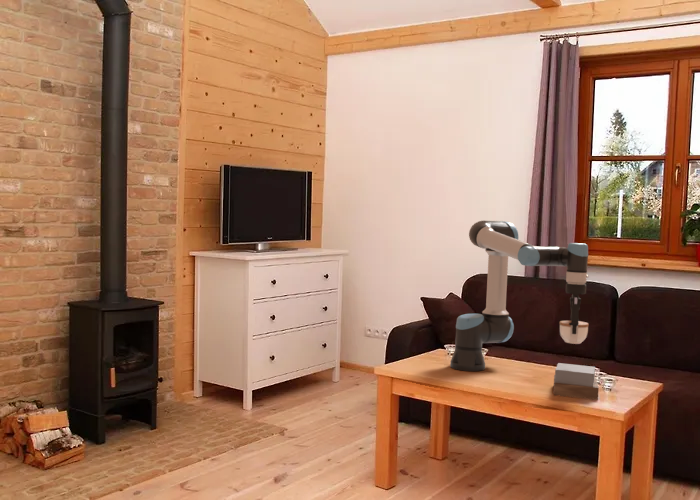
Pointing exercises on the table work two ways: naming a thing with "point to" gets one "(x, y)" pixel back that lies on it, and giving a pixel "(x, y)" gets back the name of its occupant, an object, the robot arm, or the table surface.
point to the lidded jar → (566, 329)
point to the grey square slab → (575, 374)
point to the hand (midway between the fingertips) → (573, 340)
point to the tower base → (576, 390)
